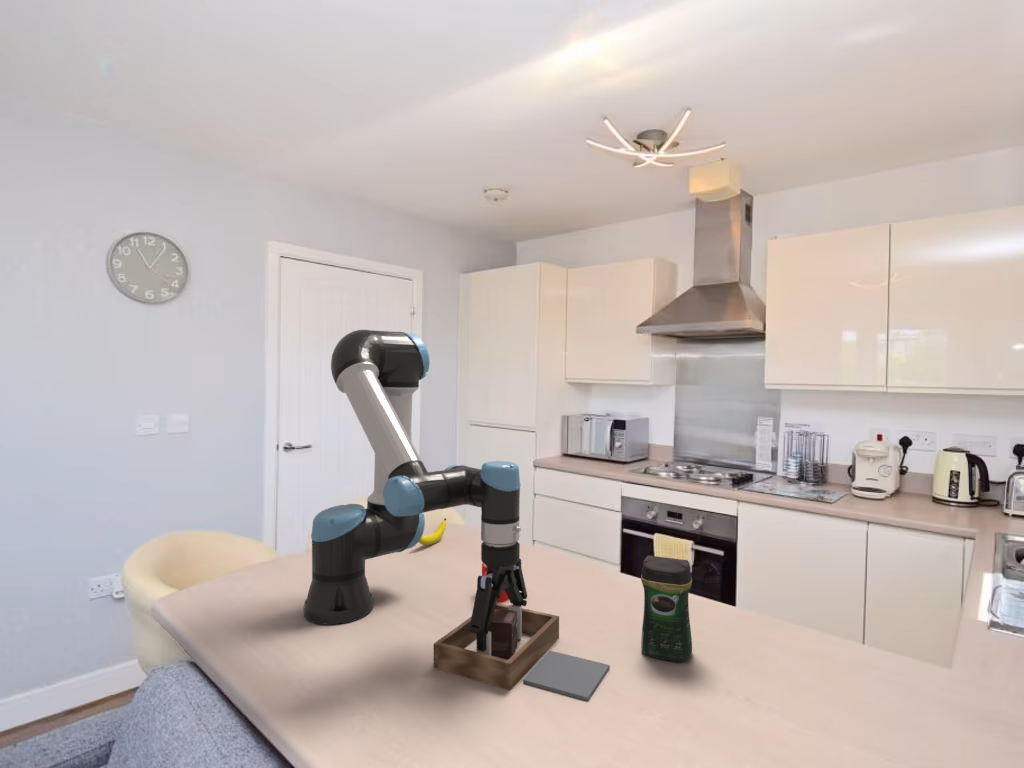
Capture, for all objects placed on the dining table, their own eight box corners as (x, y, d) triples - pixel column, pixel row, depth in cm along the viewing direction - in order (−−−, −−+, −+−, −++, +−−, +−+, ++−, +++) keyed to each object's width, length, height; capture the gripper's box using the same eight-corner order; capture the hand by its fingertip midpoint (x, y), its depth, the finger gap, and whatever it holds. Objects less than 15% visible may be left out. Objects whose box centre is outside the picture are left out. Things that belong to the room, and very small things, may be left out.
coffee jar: (694, 648, 113) (694, 555, 113) (689, 667, 106) (690, 568, 105) (645, 639, 117) (645, 549, 117) (637, 656, 110) (638, 560, 109)
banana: (411, 552, 173) (411, 532, 173) (441, 536, 191) (441, 517, 191) (419, 553, 172) (420, 533, 172) (449, 537, 190) (449, 518, 190)
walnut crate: (433, 667, 105) (433, 643, 105) (491, 622, 125) (491, 601, 124) (510, 689, 98) (510, 664, 98) (559, 637, 117) (559, 616, 117)
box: (511, 661, 107) (511, 623, 107) (480, 658, 109) (481, 620, 109) (517, 646, 113) (517, 610, 113) (488, 643, 115) (488, 607, 115)
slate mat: (523, 683, 100) (523, 679, 100) (550, 653, 111) (550, 650, 111) (587, 701, 94) (587, 697, 94) (609, 668, 105) (609, 665, 105)
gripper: (486, 562, 98) (486, 685, 98) (543, 529, 120) (543, 630, 120) (449, 556, 102) (449, 675, 102) (511, 524, 123) (511, 623, 124)
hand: (500, 651), depth 111 cm, fingers open, 12 cm apart
